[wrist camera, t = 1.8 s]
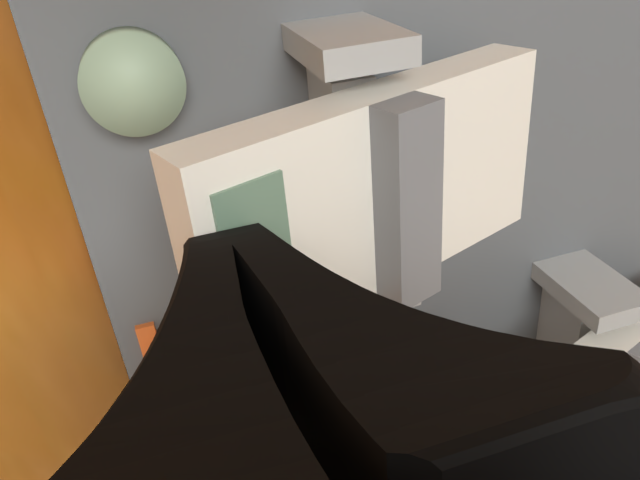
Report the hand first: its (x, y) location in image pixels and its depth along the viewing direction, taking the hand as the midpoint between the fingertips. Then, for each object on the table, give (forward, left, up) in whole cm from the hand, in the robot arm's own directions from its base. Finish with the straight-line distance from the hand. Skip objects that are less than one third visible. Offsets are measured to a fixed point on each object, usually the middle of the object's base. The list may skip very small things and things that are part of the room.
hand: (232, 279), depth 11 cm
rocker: (-4, 0, -2) cm, 4 cm away
